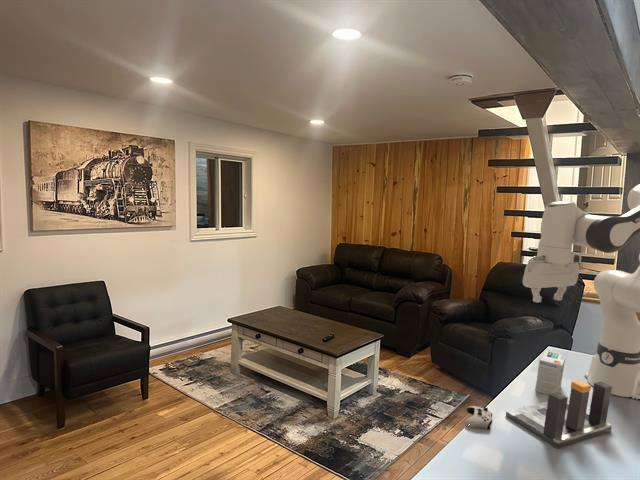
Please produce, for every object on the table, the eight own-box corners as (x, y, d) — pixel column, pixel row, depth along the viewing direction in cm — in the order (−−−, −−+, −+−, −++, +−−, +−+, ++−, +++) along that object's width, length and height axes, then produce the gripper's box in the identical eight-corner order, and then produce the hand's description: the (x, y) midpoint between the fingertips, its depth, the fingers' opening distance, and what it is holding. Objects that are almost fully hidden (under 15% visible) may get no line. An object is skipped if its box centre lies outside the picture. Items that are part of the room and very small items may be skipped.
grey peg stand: (556, 403, 132) (562, 364, 130) (611, 432, 118) (618, 388, 116) (505, 416, 122) (511, 374, 121) (557, 449, 108) (565, 402, 106)
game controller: (465, 407, 124) (483, 397, 122) (478, 423, 123) (495, 413, 121) (463, 423, 115) (481, 413, 113) (476, 441, 115) (495, 430, 112)
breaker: (572, 422, 118) (579, 380, 116) (584, 429, 115) (591, 385, 113) (564, 425, 116) (571, 381, 115) (576, 431, 113) (583, 387, 112)
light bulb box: (539, 379, 148) (543, 349, 147) (561, 385, 145) (566, 355, 143) (534, 390, 140) (539, 359, 138) (558, 397, 136) (562, 365, 134)
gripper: (539, 258, 121) (533, 306, 123) (585, 257, 130) (578, 301, 132) (520, 254, 127) (514, 300, 129) (565, 253, 136) (559, 296, 138)
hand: (547, 300), depth 130 cm, fingers open, 8 cm apart
